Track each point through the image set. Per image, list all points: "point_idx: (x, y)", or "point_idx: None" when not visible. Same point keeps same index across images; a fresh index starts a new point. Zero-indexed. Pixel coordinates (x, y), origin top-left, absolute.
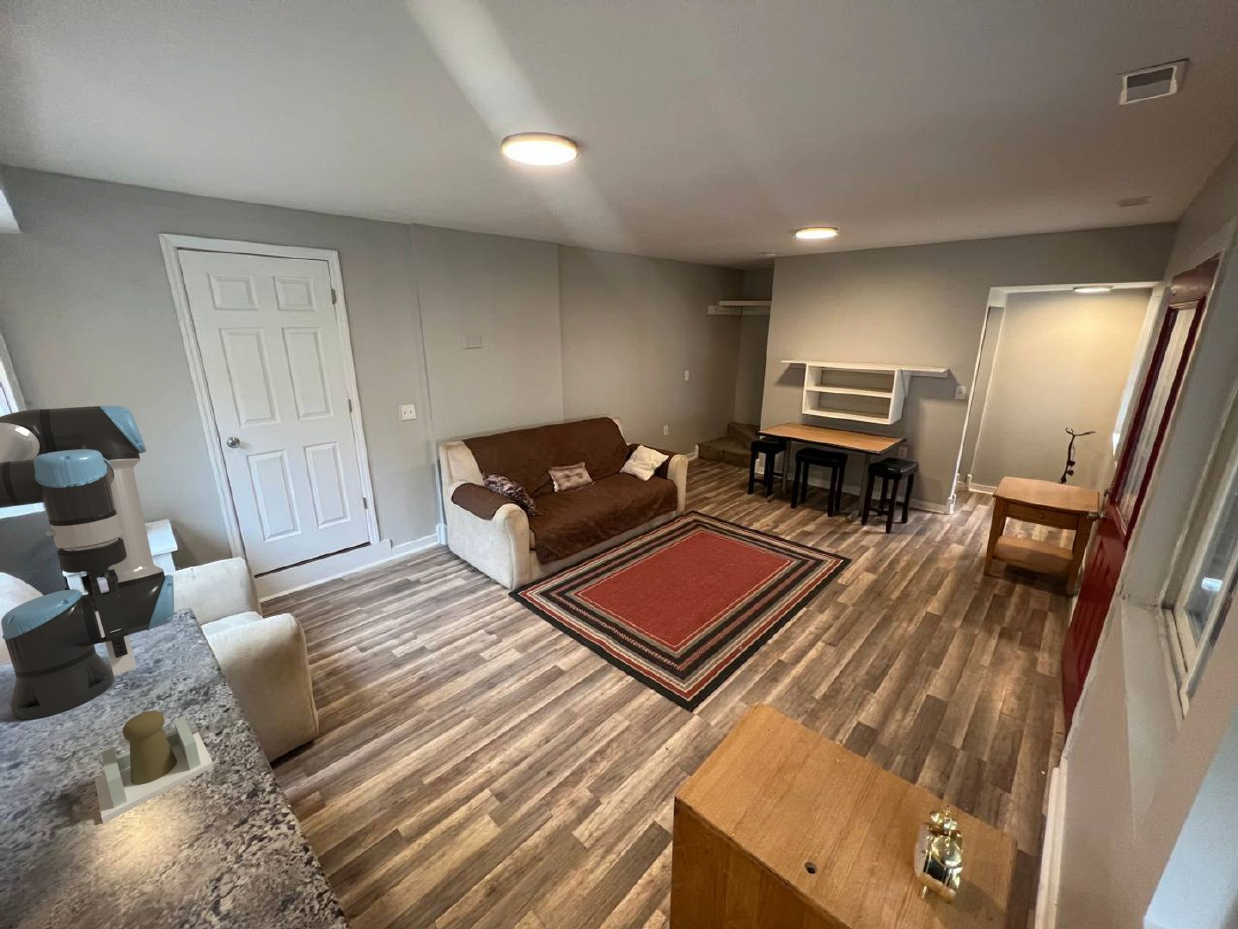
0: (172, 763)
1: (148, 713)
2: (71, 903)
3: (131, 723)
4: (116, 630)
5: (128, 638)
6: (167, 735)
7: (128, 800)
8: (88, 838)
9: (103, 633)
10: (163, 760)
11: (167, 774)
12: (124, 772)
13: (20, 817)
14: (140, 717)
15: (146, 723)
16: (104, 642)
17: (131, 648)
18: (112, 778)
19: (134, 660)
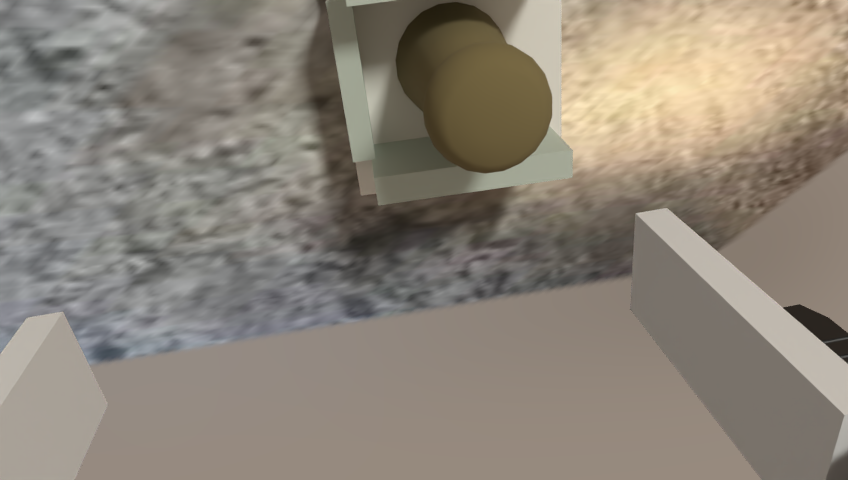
0: (484, 15)
1: (487, 99)
2: (763, 187)
3: (511, 152)
4: (37, 405)
5: (842, 369)
6: (340, 27)
7: None
8: (585, 182)
9: (68, 472)
10: (505, 40)
11: (507, 29)
12: (391, 133)
13: (373, 305)
14: (494, 125)
15: (546, 103)
16: (97, 415)
17: (770, 298)
18: (565, 167)
19: (701, 239)
